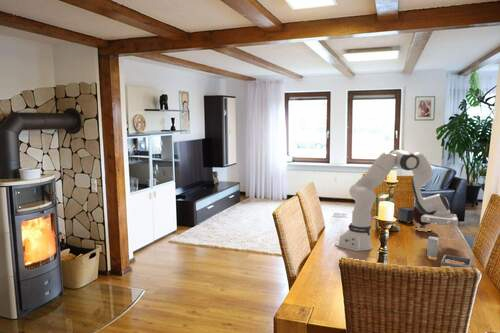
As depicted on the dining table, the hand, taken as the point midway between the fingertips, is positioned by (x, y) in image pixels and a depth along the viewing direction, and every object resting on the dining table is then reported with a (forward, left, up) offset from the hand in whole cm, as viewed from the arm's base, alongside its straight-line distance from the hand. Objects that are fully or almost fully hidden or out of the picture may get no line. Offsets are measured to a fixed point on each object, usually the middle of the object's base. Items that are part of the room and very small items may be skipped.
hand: (437, 222), depth 233 cm
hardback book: (-41, +41, -18) cm, 61 cm away
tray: (+13, -19, -18) cm, 29 cm away
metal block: (0, -12, -18) cm, 22 cm away
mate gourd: (-16, +48, -18) cm, 54 cm away
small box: (-31, +66, -18) cm, 75 cm away
